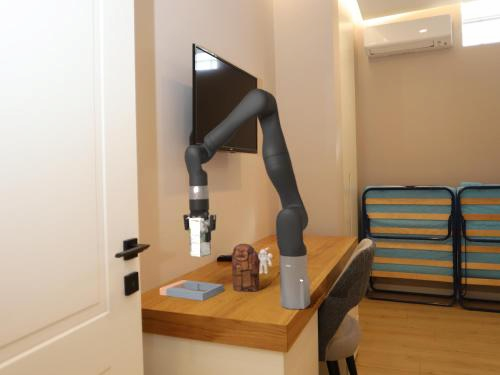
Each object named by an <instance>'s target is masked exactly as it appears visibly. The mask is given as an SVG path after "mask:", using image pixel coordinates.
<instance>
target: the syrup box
mask: <svg viewBox="0 0 500 375" xmlns="http://www.w3.org/2000/svg"><path fill="white" fill-rule="evenodd" d="M203 221H204V219H203V218H202V219H201V218H190V219H189V228H190V236H189V256H190V257H198V258H201V257H202V258H203V257H207V256H210V255H211V254H212V252H211V249H212V248H211V241H212V240H211V241H210V242H208V243H207V242H205V233H206V232H205V229H204V227H203ZM204 223H205V224H208V223H209V224H210V220H209V218H208V220H207V219H206V221H204ZM207 228H208V226H207Z"/></svg>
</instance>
